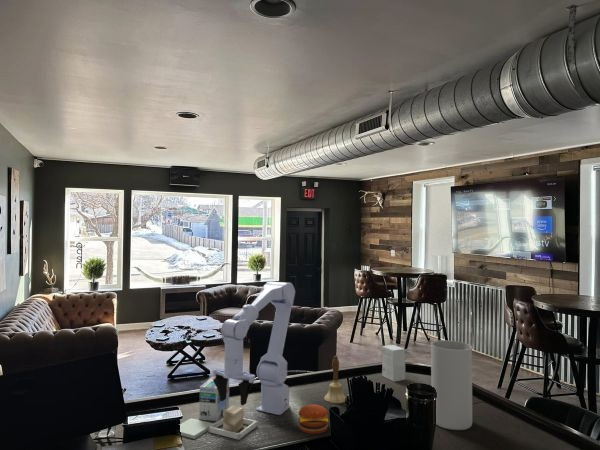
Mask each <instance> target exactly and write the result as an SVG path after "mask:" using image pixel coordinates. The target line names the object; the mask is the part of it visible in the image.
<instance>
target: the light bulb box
mask: <svg viewBox="0 0 600 450" xmlns="http://www.w3.org/2000/svg"><path fill="white" fill-rule="evenodd" d="M215 377H216V376H212V377H210V378H209V379H208V380H207V381H205V382H204V383H203V384H202V385H200V386H199V406H198V409H199V410H198V413H199V416H198V417H199V419H198V420H201V421H212V422H217V421H219V420H220V419H222V418H223V411H225V410H227V409H228V408H230V378H229V379H228V382H227V395H226V399H225V400H224V401H221V400H220V396H219V392H218V389H217V387H216V385H215V383H214V382H213V379H215Z"/></svg>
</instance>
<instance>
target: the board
mask: <svg viewBox="0 0 600 450" xmlns="http://www.w3.org/2000/svg"><path fill="white" fill-rule="evenodd" d="M213 424H214V423H213V422H208V421H206V420H200V419H197V418H189V419H187V420H185V421H183V422H182V423H180V424H179V425H180V432H181V435H180V436H181V437H185V438H186V437H187V438H189V439H195V440H196V439H197V438H198V437H200V436H201V435H203V434H204V433H206V432H208V430H209V426H211V425H213Z"/></svg>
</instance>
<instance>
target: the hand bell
mask: <svg viewBox="0 0 600 450" xmlns="http://www.w3.org/2000/svg"><path fill="white" fill-rule="evenodd" d="M331 367H332V368H331V369H332V371H333V378H332V379H333V380H332V382H330V384H329V386H328V392H327V394H325V395H324V400H325V401H326V402H328V403H330V404H343V403H346V401H345V398H346V399H347V397H346V396H345V395H344V392H343V387H342V384H341V383H340V382H339V374H338V373H339V369H340V361H339V356H338V355H334V356H333V359H332V362H331Z"/></svg>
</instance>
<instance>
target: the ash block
mask: <svg viewBox="0 0 600 450" xmlns="http://www.w3.org/2000/svg"><path fill="white" fill-rule="evenodd" d="M222 418H223V424H222V429H223V430H227V431H231V432H235V433H238V432H239V431H240V430H241V429H243V427H244V424H243V418H244V407H240V406H236V405H231V406H229V408H228V409H227V410H225V411H223V416H222Z"/></svg>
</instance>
